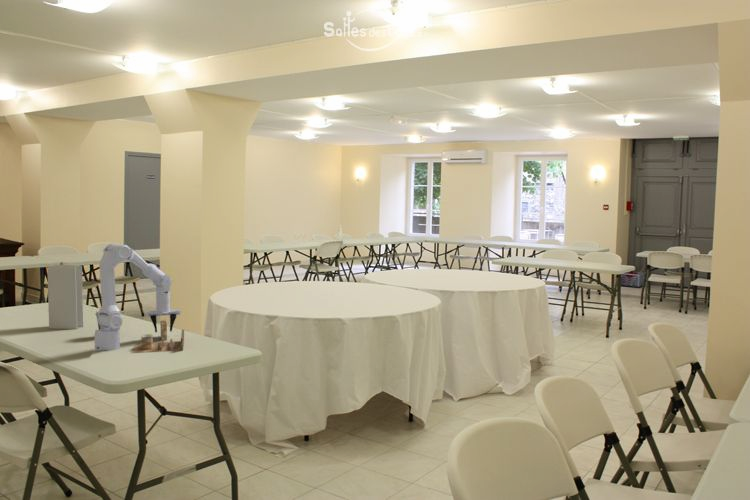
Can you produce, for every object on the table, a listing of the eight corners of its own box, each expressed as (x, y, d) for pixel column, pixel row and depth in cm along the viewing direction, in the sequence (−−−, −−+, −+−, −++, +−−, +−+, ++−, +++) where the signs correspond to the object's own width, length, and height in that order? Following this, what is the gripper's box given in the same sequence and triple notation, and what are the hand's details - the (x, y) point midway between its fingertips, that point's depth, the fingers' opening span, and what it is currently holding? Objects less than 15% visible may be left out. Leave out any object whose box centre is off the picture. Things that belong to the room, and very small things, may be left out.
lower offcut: (141, 349, 258) (141, 343, 258) (142, 345, 265) (142, 339, 264) (151, 349, 259) (151, 343, 259) (152, 345, 266) (152, 339, 265)
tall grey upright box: (83, 326, 307) (82, 265, 305) (77, 329, 301) (75, 266, 299) (56, 325, 308) (54, 264, 306) (49, 328, 303) (47, 266, 300)
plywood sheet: (162, 341, 275) (161, 323, 274) (160, 337, 284) (160, 319, 283) (166, 341, 275) (166, 323, 275) (165, 336, 285) (165, 319, 284)
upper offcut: (141, 343, 258) (141, 337, 258) (142, 340, 263) (142, 334, 263) (151, 342, 259) (151, 336, 259) (152, 340, 264) (152, 334, 264)
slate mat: (148, 344, 272) (148, 343, 272) (150, 337, 284) (150, 336, 284) (177, 342, 275) (177, 341, 275) (178, 336, 287) (178, 335, 287)
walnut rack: (130, 355, 252) (130, 340, 251) (135, 345, 269) (135, 331, 269) (182, 352, 257) (182, 338, 257) (184, 343, 274) (184, 329, 274)
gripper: (145, 303, 272) (146, 334, 273) (180, 301, 277) (181, 332, 278) (145, 301, 278) (145, 331, 279) (179, 299, 284) (179, 329, 285)
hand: (163, 331), depth 279 cm, fingers open, 6 cm apart
